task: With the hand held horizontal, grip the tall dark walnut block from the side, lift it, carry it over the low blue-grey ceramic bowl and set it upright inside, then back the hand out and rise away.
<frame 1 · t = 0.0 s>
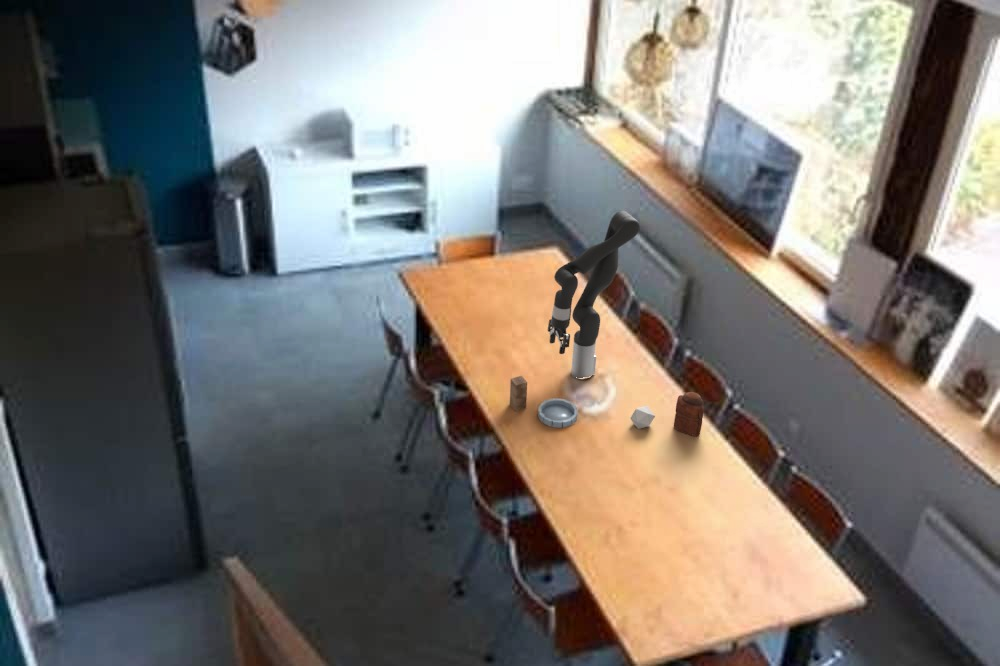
hand: (556, 348, 429), 17 cm above the table, tool pointing down, fingers open, 8 cm apart
wooden figurine: (687, 430, 414), on the table
bowl: (557, 415, 419), on the table
walnut block: (517, 406, 424), on the table
die: (641, 425, 416), on the table
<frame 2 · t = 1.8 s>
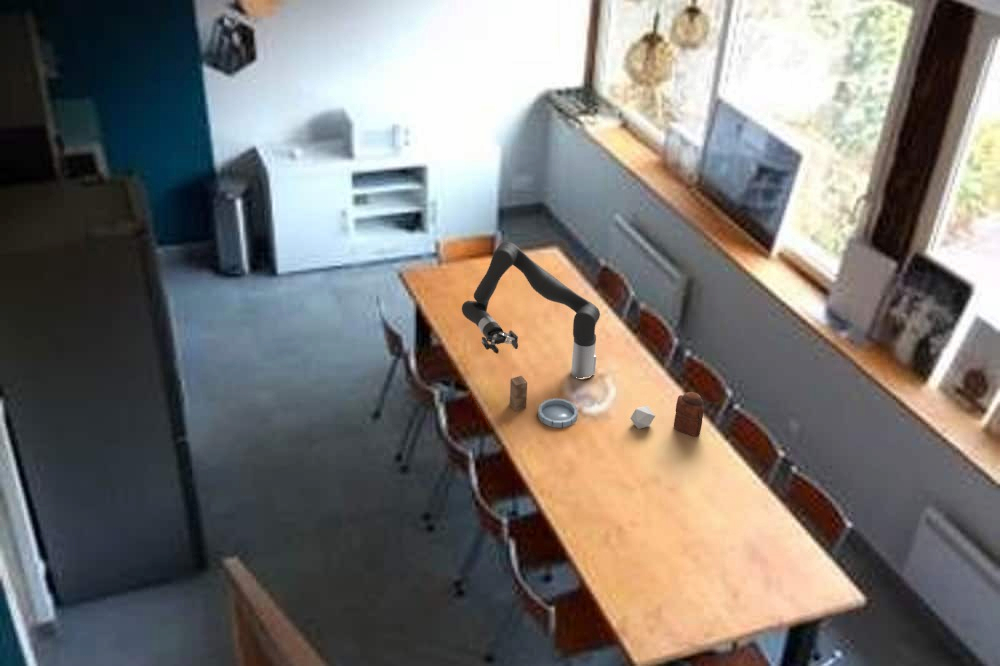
hand: (507, 349, 421), 21 cm above the table, tool horizontal, fingers open, 8 cm apart
nothing on the table moved.
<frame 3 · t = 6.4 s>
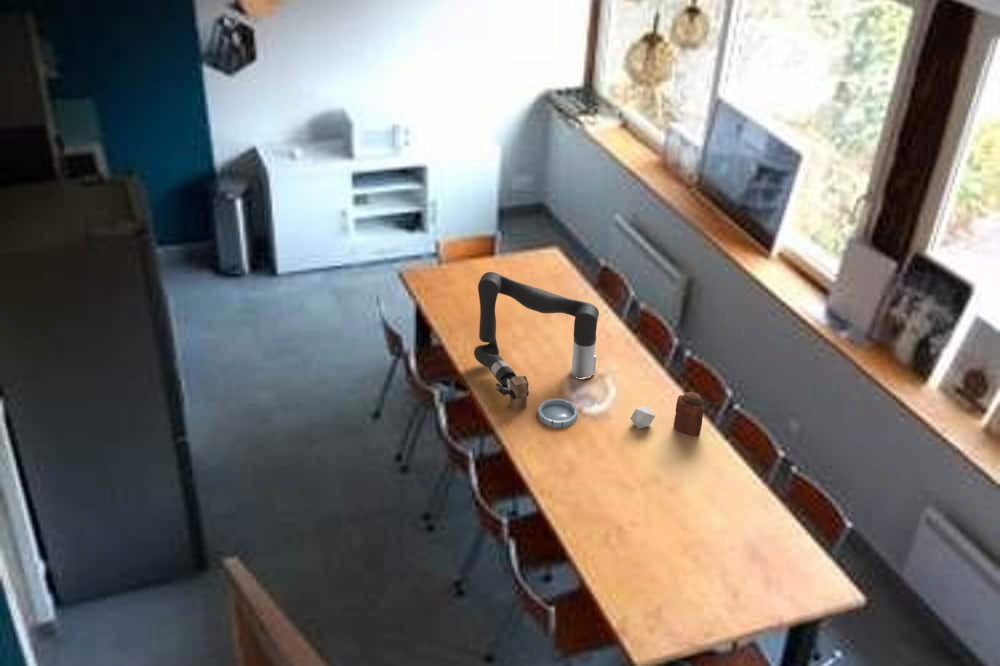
hand: (521, 395, 418), 7 cm above the table, tool horizontal, fingers closed on walnut block, 5 cm apart
walnut block: (517, 406, 424), on the table, touching gripper
everything else where it was.
when the fingers open (9 cm above the table, at t = 12.8 s): walnut block stays where it is, resting on bowl.
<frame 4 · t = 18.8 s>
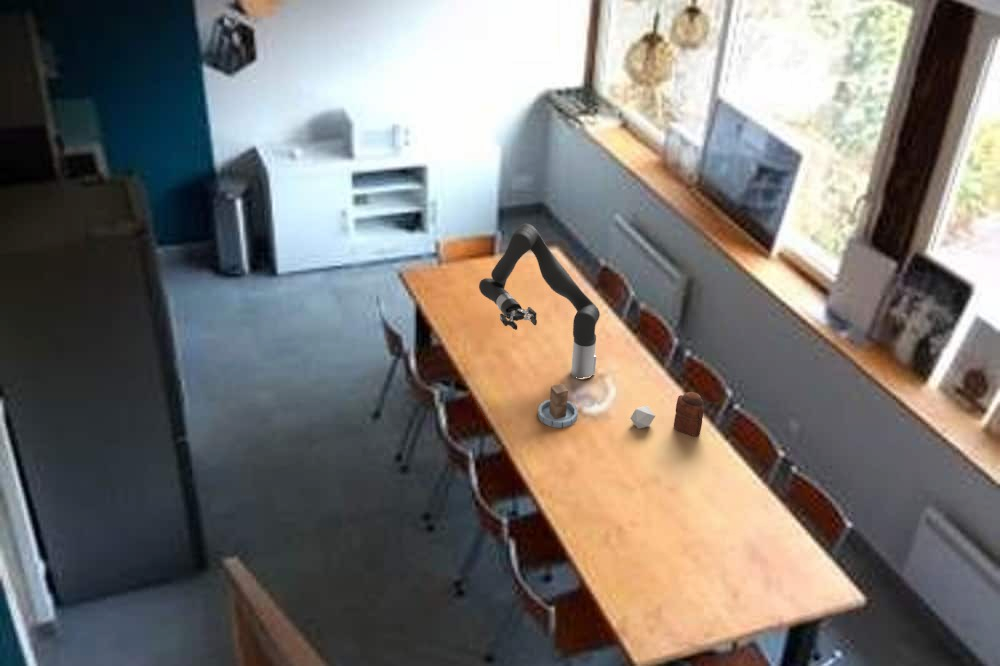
hand: (526, 325, 416), 32 cm above the table, tool horizontal, fingers open, 8 cm apart
walnut block: (557, 414, 419), point 1 cm above the table, touching bowl
everything else where it was.
at the end: walnut block inside the target area on the bowl (0.0 cm from its centre), point 0.6 cm above the bowl's base; walnut block tilted 0°; the gripper is holding nothing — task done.
